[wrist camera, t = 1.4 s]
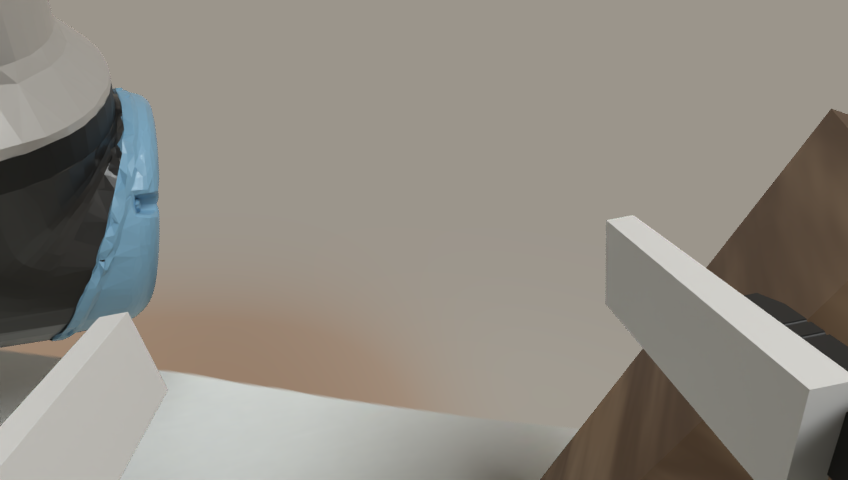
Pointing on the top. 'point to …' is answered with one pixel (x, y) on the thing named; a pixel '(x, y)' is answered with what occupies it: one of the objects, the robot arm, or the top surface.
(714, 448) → the plinth
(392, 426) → the top surface
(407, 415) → the top surface
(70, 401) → the robot arm
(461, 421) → the top surface
